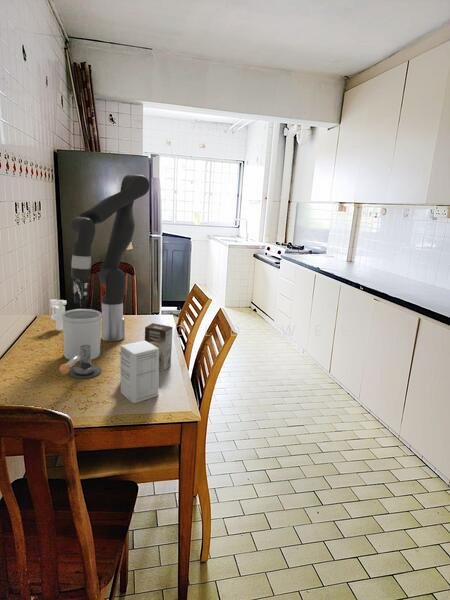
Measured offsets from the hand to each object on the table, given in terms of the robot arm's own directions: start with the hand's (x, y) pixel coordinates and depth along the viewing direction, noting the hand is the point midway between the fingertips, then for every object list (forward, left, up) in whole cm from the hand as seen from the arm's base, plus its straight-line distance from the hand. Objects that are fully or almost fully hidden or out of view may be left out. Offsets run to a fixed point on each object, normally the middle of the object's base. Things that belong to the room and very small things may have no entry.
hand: (79, 305), depth 163 cm
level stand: (-2, +43, -19) cm, 46 cm away
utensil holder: (+3, +9, -19) cm, 21 cm away
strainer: (-1, -28, -19) cm, 34 cm away
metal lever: (+14, +32, -18) cm, 39 cm away
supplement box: (+2, +52, -19) cm, 55 cm away
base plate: (+9, +26, -19) cm, 33 cm away
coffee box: (-16, +35, -19) cm, 43 cm away
